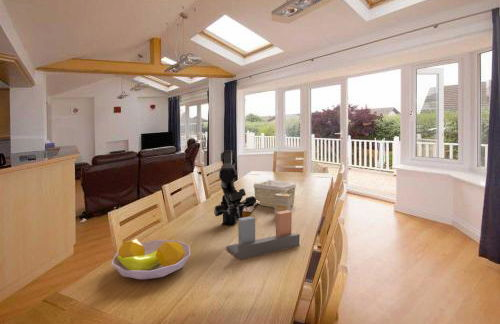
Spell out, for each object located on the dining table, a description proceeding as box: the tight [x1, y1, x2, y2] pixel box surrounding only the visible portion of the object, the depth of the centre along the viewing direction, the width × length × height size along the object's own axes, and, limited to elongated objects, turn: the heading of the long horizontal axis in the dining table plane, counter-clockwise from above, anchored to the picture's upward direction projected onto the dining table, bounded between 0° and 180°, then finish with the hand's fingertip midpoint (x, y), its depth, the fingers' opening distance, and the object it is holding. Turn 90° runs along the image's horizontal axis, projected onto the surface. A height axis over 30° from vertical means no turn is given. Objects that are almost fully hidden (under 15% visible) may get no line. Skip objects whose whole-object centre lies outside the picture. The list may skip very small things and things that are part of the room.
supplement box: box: [274, 193, 292, 218], centre depth 164 cm, size 8×5×13 cm, turn 58°
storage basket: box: [253, 179, 297, 209], centre depth 191 cm, size 24×16×15 cm
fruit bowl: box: [111, 238, 192, 280], centre depth 104 cm, size 28×27×11 cm
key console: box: [225, 232, 301, 261], centre depth 124 cm, size 13×28×5 cm, turn 118°
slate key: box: [237, 215, 256, 245], centre depth 117 cm, size 3×6×13 cm, turn 118°
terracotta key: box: [275, 210, 292, 237], centre depth 125 cm, size 3×6×13 cm, turn 118°
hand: (241, 223), depth 127 cm, fingers closed
